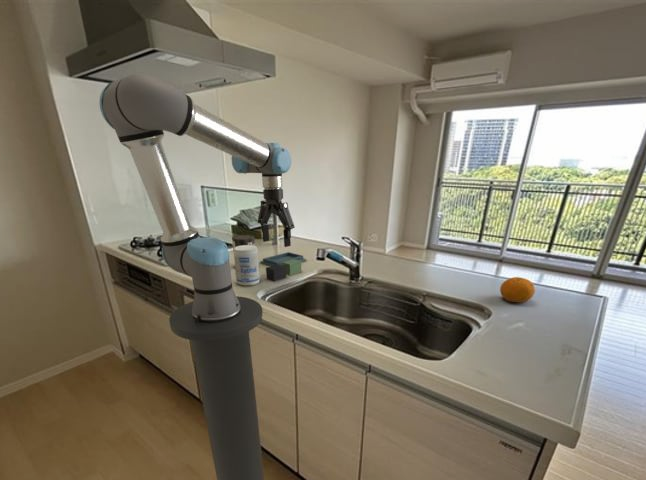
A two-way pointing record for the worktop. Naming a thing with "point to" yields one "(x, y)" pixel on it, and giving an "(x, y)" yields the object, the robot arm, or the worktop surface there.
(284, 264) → the sage pad
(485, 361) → the worktop surface
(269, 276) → the charcoal block
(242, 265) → the supplement tub
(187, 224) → the robot arm
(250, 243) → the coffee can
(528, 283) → the fruit
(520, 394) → the worktop surface
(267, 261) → the blue tray
